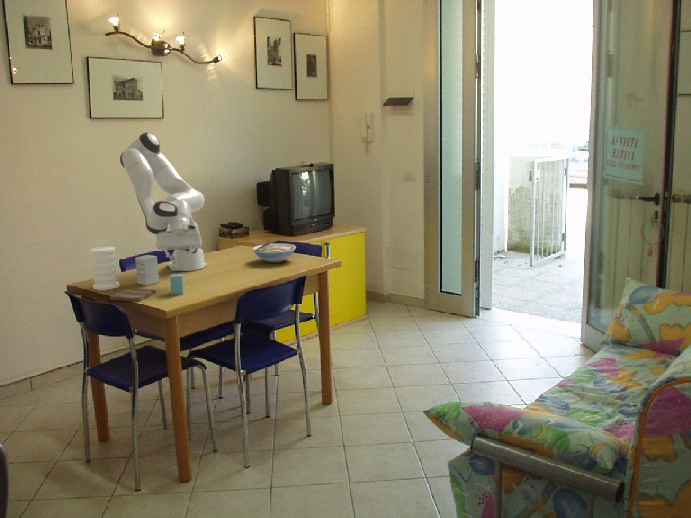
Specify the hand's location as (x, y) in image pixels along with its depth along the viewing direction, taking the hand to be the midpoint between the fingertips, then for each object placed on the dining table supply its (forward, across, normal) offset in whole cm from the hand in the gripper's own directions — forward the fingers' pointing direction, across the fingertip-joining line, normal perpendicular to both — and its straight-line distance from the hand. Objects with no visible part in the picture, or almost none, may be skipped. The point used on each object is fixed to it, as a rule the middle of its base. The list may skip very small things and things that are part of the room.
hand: (178, 256), depth 315 cm
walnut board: (+20, -18, -1) cm, 28 cm away
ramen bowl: (-22, +43, +42) cm, 64 cm away
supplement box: (+4, -16, +16) cm, 23 cm away
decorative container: (+7, -34, +14) cm, 38 cm away
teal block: (+18, 0, +2) cm, 19 cm away
